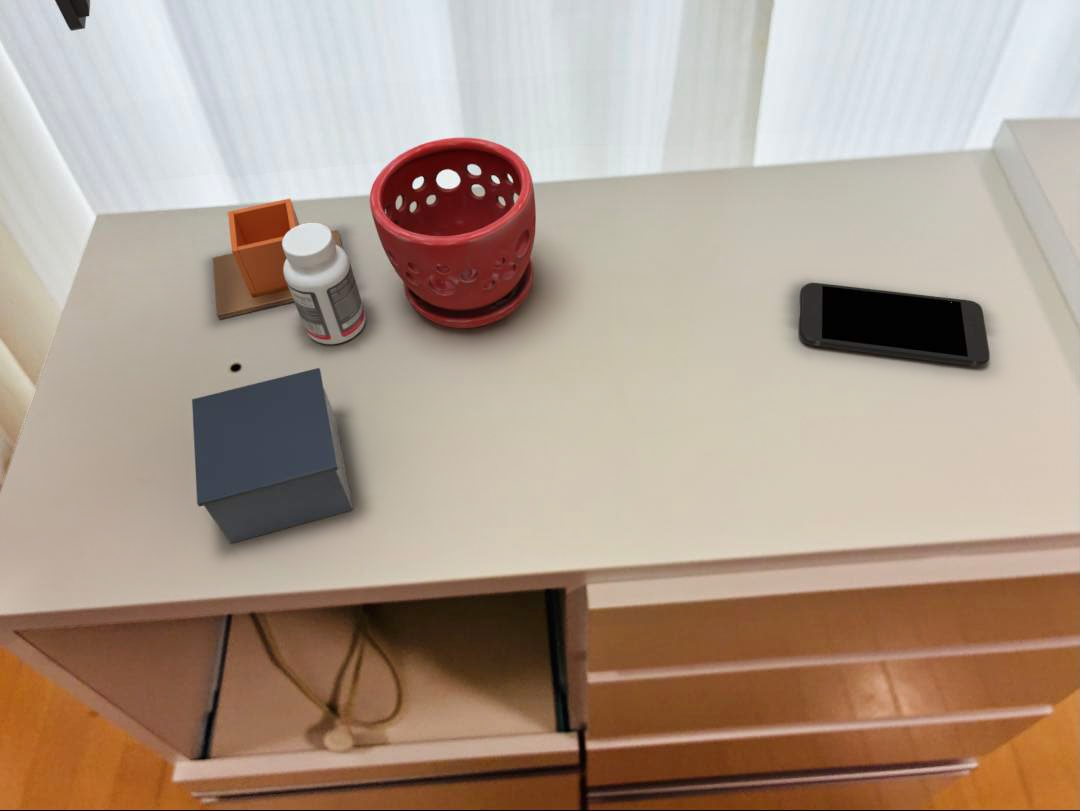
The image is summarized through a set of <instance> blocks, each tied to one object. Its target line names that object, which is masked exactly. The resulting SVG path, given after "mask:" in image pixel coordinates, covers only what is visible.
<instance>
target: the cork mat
mask: <svg viewBox="0 0 1080 811" xmlns="http://www.w3.org/2000/svg"><path fill="white" fill-rule="evenodd" d="M330 231H331V233H332V236H333V239H334V241H335V244H336V245H338V246H339V247H341V248H342V249H343V245H342V241H341V237H340V232H339V230H338V229H334V230H330ZM211 260H212V271H213V283H214V295H215V308H216V316H217V318H218V320H223V319H227V318H232V317H235V316H240V315H244V314H245V315H246V314H249V313H253V312H257V311H261V310H265V309H269V308H274V307H278V306H283V305H286V304H291V303H295V302H294V300H293V297H292V295H291V292H290V290H289V289H287V290H282V291H278V292H274V293H269V294H265V295H261V296H257V297H252V296H251V293H250V291H249V289H248V287H247V284H246V282H245V280H244V278H243V275H242V273H241V271H240V269H239V266H238V264H237V262H236V260H235V257H234V255H233V253H232V252H231V253H229V254H228V253H227V254H223V255H219V256H214V257H212V259H211Z"/></svg>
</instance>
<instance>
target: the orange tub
mask: <svg viewBox="0 0 1080 811" xmlns="http://www.w3.org/2000/svg"><path fill="white" fill-rule="evenodd" d="M227 218H228V227H229V237H230V238H229V239H230V248H231V254H232V253H233V255H234V257H235V260H236V262H237V264H238V266H239V269H240V271H241V273H242V275H243V278H244V280H245V282H246V284H247V287H248V289H249V291H250V293H251V296H252V297H257V296H261V295H265V294H269V293H274V292H278V291H282V290H287V289H289V287H288V285H287V282H286V281H285V277H284V272H283V267H284V263H285V261H286V259H287V258H286V255H285V253H284V250H283V247H282V241H283V238H284V236H285V234H286V233H287V232H288V231H290V230H291V229H292V228H294V227H296V226H298V225H300V222H299V219H298V216H297V212H296V211H295V208H294V205H293V202H292V199H291V198H286V199H282V200H276V201H271V202H268V203H263V204H258V205H253V206H249V207H244V208H240V209H234V210H230V211H227Z"/></svg>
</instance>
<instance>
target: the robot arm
mask: <svg viewBox="0 0 1080 811" xmlns="http://www.w3.org/2000/svg"><path fill="white" fill-rule="evenodd" d="M54 1H55V4H56V6H57V8H58V9H59V11H60V14H61V15H62V18H63V19H64V21H65V23H66V25H67V27H68V29H69V30H70V31H72V32H74V31H79V30H85V29H86V22H87V17H90V14H91V13H90V11H91V0H54Z"/></svg>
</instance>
